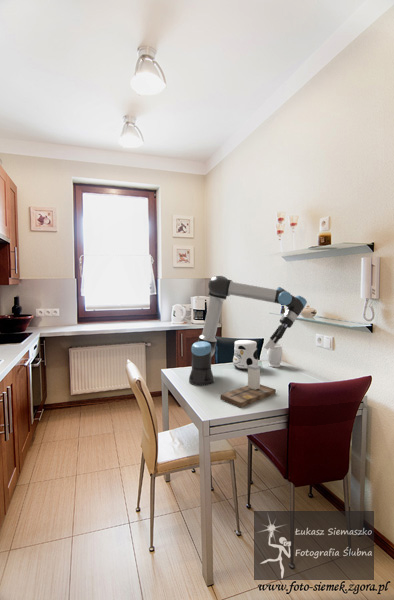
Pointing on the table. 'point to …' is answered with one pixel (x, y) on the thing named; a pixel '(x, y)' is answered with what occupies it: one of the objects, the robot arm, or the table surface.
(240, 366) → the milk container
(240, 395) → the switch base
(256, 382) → the white lidded canister
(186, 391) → the table surface
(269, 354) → the jar
